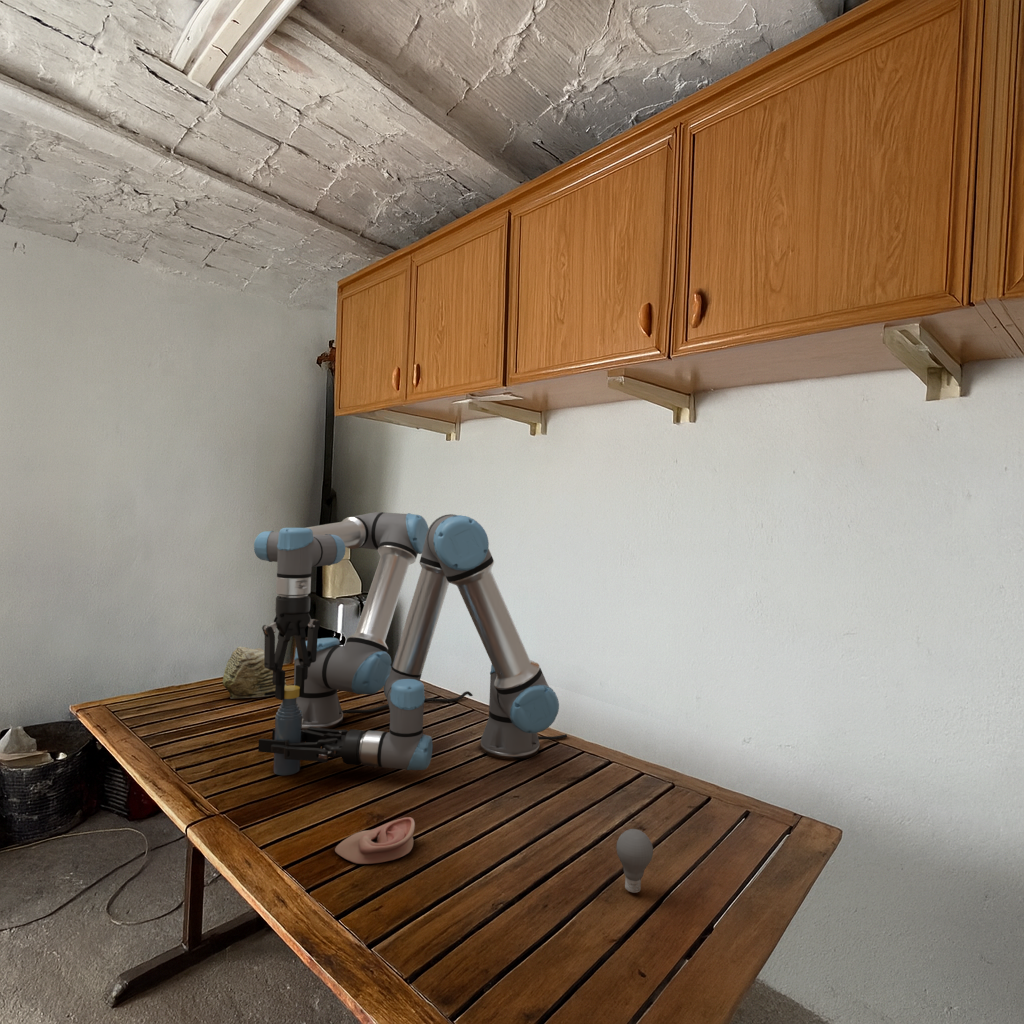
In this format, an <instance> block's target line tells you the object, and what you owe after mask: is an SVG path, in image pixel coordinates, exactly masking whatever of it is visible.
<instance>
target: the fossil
mask: <svg viewBox="0 0 1024 1024" xmlns="http://www.w3.org/2000/svg"><path fill="white" fill-rule="evenodd" d="M264 650H265V649H263V648H260V647H258V648H251V647H247V646H246V647H245V646H238V647H237V648H236V649H235V650H233V651H232V653H231V656H230V657H229V659H228V660H227V663H226V666H225V668H224V671H223V675H222V676H223V677H222V685H223V687H224V688H225V690H226V691H228V693H229V698H230V699H250V698H264V697H271V696H275V687H276V685H274V684H273V683H272V680H273V671H272V670H270V669H267V668H265V667H264ZM285 686H288V685H287V680H286V679H285Z"/></svg>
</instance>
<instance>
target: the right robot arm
mask: <svg viewBox="0 0 1024 1024" xmlns="http://www.w3.org/2000/svg"><path fill="white" fill-rule="evenodd" d="M428 528H429V529H428V531H427V534H426V539H425V543H424V547H423V551H422V554H420V559H419V562H418V563H419V565H420V567H421V569H420V573H419V577H418V580H417V583H416V586H415V589H414V592H413V596H412V599H411V602H410V605H409V609H408V613H407V616H406V619H405V623H404V626H403V629H402V632H401V635H400V638H399V639H400V640H399V642H398V646H397V649H396V652H395V655H394V659H393V662H392V664H391V672H390V674H389V675H388V676H387V678H386V680H385V683H384V686H383V694H384V696H385V698H386V701H387V704H388V705H389V707H388V709H389V729H388V730H389V732H388V731H381V730H367V731H366V730H364V729H349V730H348V729H335V728H333V729H324V728H315V727H308V728H307V730H305V729H304V730H302V734H301V743H289V740H286V741H283V740H275V727H274V728H273V729H272V735H271V736H272V737H271V739H269V738H259V739H258V747H257V748H258V750H257V752H258V753H269V754H274V753H279V754H284V759H289V760H301V761H306V762H318V763H323V764H325V763H328V762H329V760H328V759H329V758H331V759H332V758H339V757H340V758H341V759H342V762H343V763H344V765H349V766H360V765H362V766H363V767H373V769H377V768H389V769H396V770H397V769H398V770H406V771H425V770H426V769H428V768H429V766H430V765H431V761H432V757H433V746H434V744H433V738H432V736H431V735H428V734H426V733H425V734H424V709H425V702H424V700H425V698H426V696H425V685H424V683H423V682H422V681H421V677H422V675H423V674H422V673H423V670H424V667H425V665H426V661H427V658H428V653H429V652H430V647H431V645H432V641H433V638H434V634H435V631H436V628H437V624H438V623H439V622H438V621H439V618H440V615H441V612H442V608H443V605H444V602H445V598H446V596H447V592H448V588H449V585H451V584H452V585H454V586H456V587H457V589H458V591H459V593H460V596H461V598H462V600H463V603H464V605H465V607H466V609H467V611H468V614H469V616H470V618H471V620H472V623H473V626H474V628H475V629H476V632H477V634H478V636H479V639H480V640H481V642H482V645H483V648H484V649H485V652H486V654H487V656H488V659H489V661H490V663H491V665H490V672H489V675H490V677H489V702H488V703H489V704H488V719H487V722H486V724H485V727H484V730H483V733H482V734H481V738H480V750H481V751H482V752H483V753H484V754H485V755H487V756H489V757H492V758H495V759H500V760H505V761H506V760H509V761H518V760H526V759H529V758H532V757H535V756H536V755H538V753H539V752H540V741H541V740H545V741H556V740H557V741H558V740H561V739H566V738H568V735H567V734H566V733H565V734H561V735H556V736H555V735H554V736H548V735H546V736H545V735H538V733H541V732H543V731H545V730H547V729H548V728H550V727H551V726H552V725H553V723H554V722H555V720H556V719H557V716H558V715H559V710H560V702H559V698H558V696H557V694H556V692H555V691H554V689H553V688H552V687H550V686H549V684H548V682H547V680H546V677H545V675H544V673H543V671H542V668H541V666H540V664H539V663H538V662H537V661H533V660H531V658H530V657H529V654H528V652H527V649H526V648H525V645H524V643H523V640H522V638H521V636H520V634H519V631H518V629H517V627H516V625H515V621H514V620H513V618H512V616H511V613H510V610H509V609H508V606H507V603H506V602H505V599H504V597H503V595H502V592H501V590H500V588H499V585H498V584H497V580H496V579H495V577H494V573H493V572H492V569H493V567H494V564H495V560H494V558H493V555H492V553H491V551H490V548H489V545H490V543H489V538H488V537H489V536H488V534H487V531H486V530H485V529H484V527H483V526H482V525H481V524H480V523H479V522H478V521H477V520H476V519H474V518H472V517H470V516H467V515H462V514H461V515H458V514H453V513H451V514H444V515H441V516H439V517H438V518H435V520H434V521H433V522H432V523H431V524H430V526H428Z"/></svg>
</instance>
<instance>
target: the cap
mask: <svg viewBox="0 0 1024 1024" xmlns="http://www.w3.org/2000/svg"><path fill="white" fill-rule="evenodd" d="M299 696H300V687H299V686H295V685H294V684H291V685H290V684H289V685H287V686H285V690H284V699H293V698H297V697H299Z"/></svg>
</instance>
